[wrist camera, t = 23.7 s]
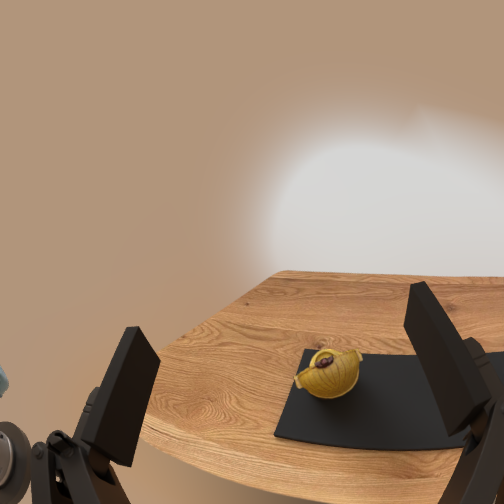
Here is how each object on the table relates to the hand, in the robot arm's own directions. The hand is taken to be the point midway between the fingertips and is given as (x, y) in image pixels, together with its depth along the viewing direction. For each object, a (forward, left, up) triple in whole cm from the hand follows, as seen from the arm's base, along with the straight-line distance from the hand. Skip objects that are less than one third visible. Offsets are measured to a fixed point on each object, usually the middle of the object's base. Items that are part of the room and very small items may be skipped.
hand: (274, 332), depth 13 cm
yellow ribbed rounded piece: (+9, +9, -27) cm, 30 cm away
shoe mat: (+19, -1, -28) cm, 34 cm away
